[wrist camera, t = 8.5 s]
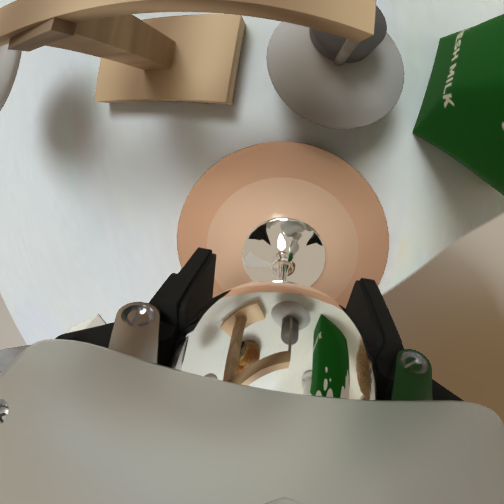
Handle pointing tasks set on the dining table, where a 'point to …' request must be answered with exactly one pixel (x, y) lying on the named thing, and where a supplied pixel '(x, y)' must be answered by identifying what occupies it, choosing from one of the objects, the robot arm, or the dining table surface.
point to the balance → (219, 51)
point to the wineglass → (279, 324)
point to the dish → (286, 213)
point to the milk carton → (468, 100)
